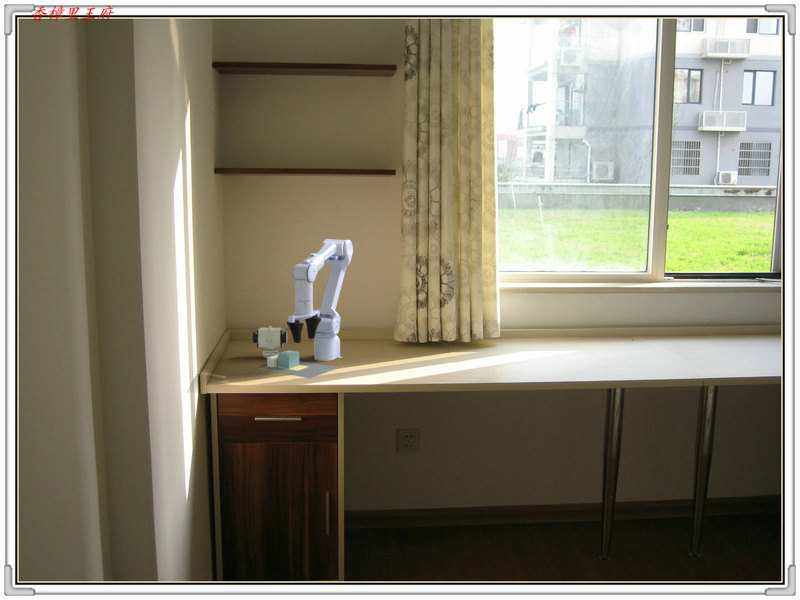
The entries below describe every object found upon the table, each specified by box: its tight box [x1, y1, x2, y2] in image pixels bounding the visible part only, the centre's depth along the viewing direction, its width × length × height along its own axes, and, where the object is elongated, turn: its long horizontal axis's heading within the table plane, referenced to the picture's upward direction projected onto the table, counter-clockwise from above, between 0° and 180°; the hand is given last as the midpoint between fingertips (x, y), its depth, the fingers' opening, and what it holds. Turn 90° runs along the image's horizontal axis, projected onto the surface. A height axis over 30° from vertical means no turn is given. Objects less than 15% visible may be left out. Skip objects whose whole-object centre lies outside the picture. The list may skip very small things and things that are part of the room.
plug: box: [278, 350, 300, 369], centre depth 233 cm, size 5×5×5 cm
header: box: [266, 355, 278, 368], centre depth 235 cm, size 8×6×3 cm
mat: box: [257, 360, 340, 379], centre depth 232 cm, size 16×22×1 cm
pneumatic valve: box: [252, 325, 289, 359], centre depth 246 cm, size 6×12×12 cm, turn 93°
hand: (304, 340), depth 231 cm, fingers open, 7 cm apart
